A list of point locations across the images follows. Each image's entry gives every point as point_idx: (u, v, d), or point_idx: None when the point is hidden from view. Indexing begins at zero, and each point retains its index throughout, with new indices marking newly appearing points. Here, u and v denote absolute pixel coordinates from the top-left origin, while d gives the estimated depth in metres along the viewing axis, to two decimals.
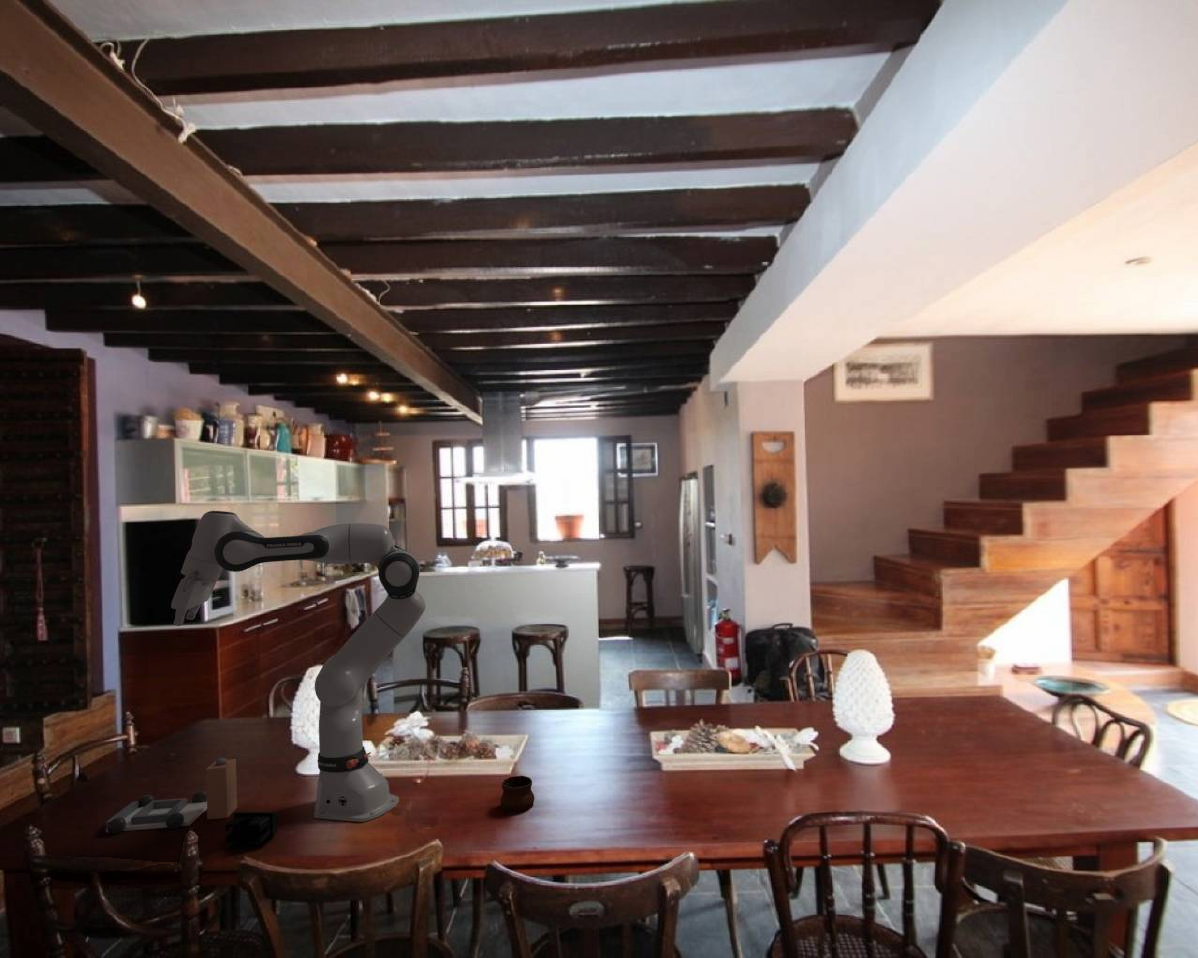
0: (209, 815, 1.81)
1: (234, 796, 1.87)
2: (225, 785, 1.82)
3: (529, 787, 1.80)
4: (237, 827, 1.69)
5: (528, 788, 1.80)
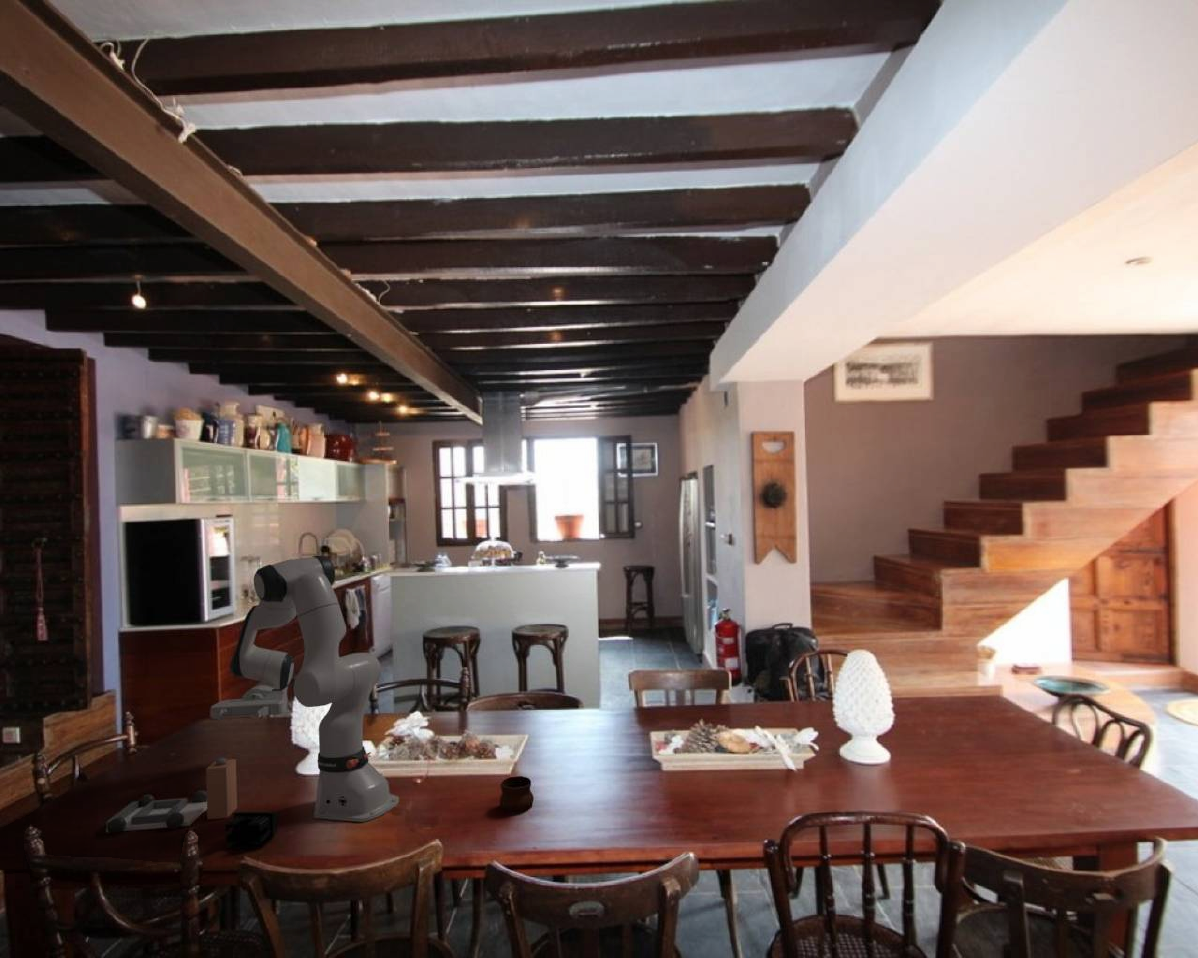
0: (209, 815, 1.81)
1: (234, 796, 1.87)
2: (225, 785, 1.82)
3: (528, 787, 1.80)
4: (237, 827, 1.69)
5: (527, 788, 1.80)
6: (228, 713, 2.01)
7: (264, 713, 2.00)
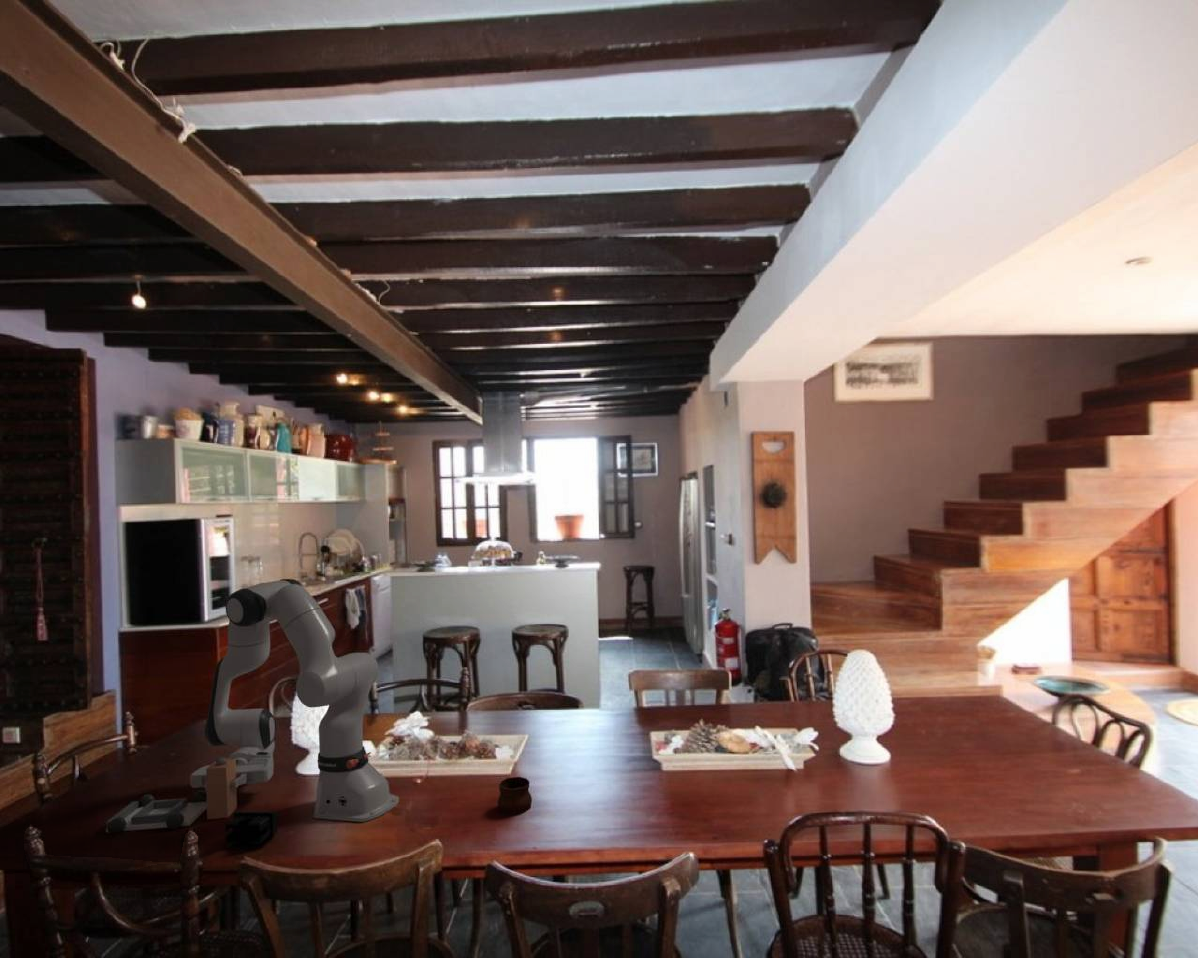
0: (209, 815, 1.81)
1: (234, 796, 1.87)
2: (225, 785, 1.82)
3: (526, 788, 1.80)
4: (237, 827, 1.69)
5: (525, 789, 1.79)
6: None
7: (242, 782, 1.87)
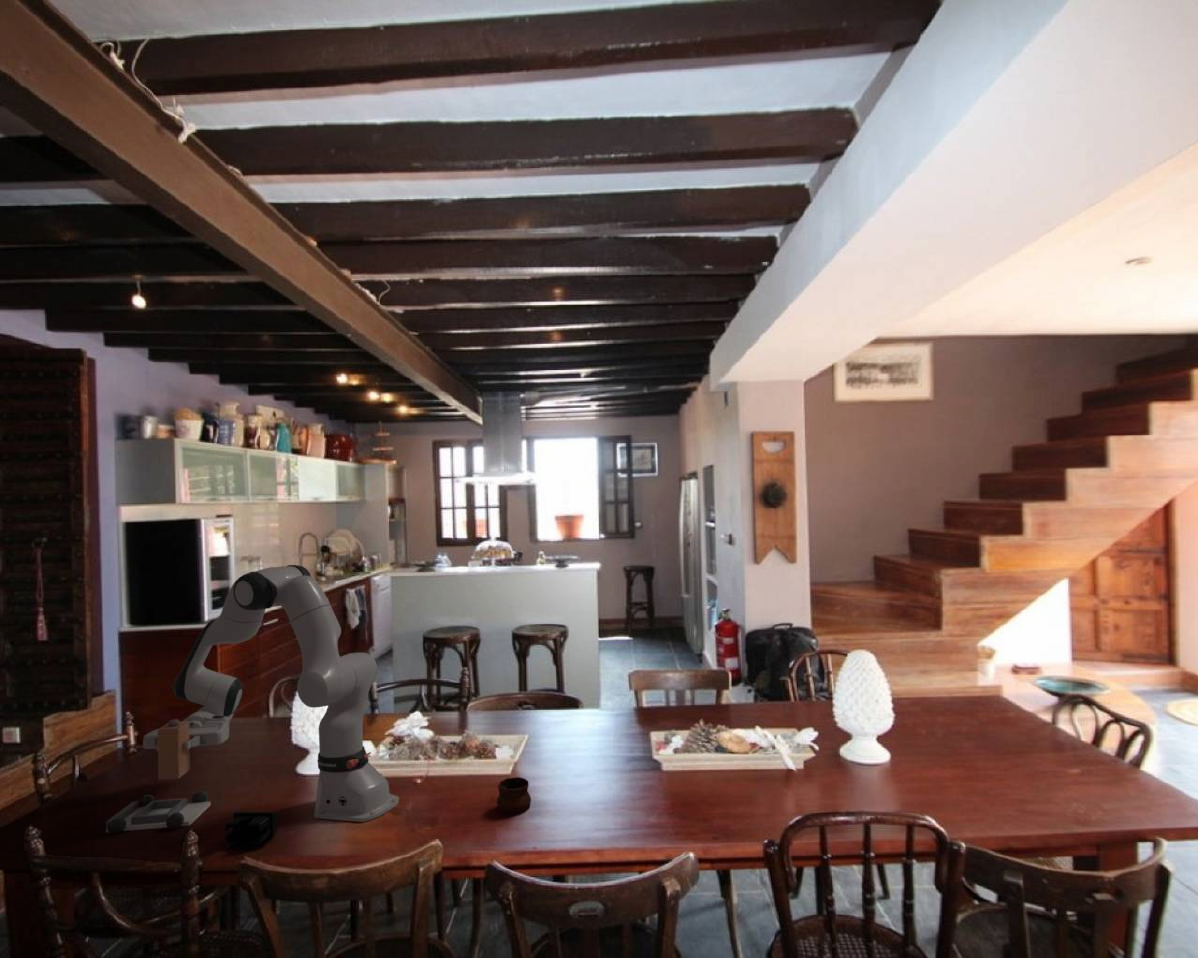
0: (160, 776, 1.81)
1: (187, 757, 1.86)
2: (176, 746, 1.81)
3: (526, 789, 1.79)
4: (237, 827, 1.69)
5: (525, 790, 1.79)
6: None
7: (194, 744, 1.86)
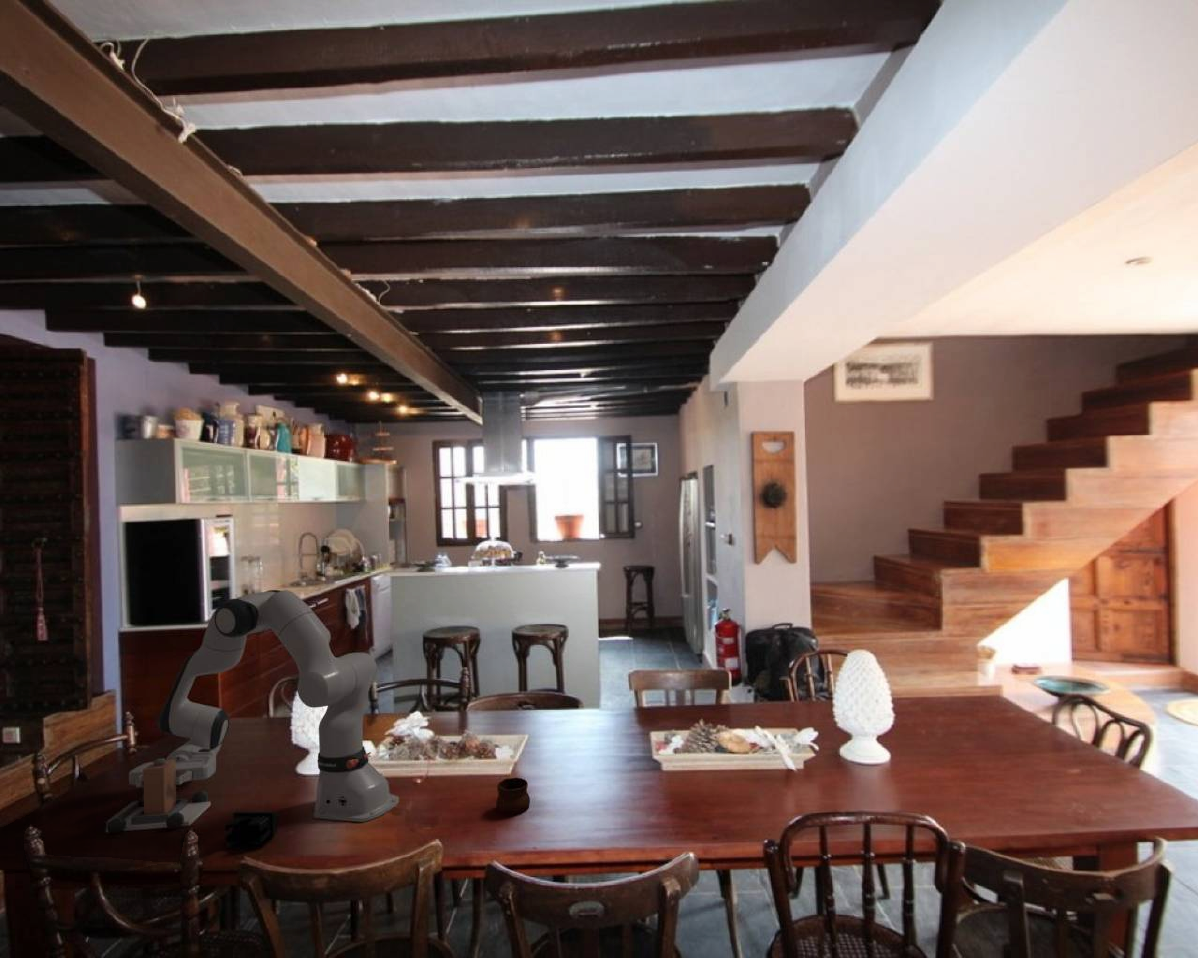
0: None
1: (173, 797, 1.85)
2: (162, 785, 1.81)
3: (525, 789, 1.79)
4: (237, 827, 1.69)
5: (524, 790, 1.79)
6: None
7: (186, 779, 1.86)
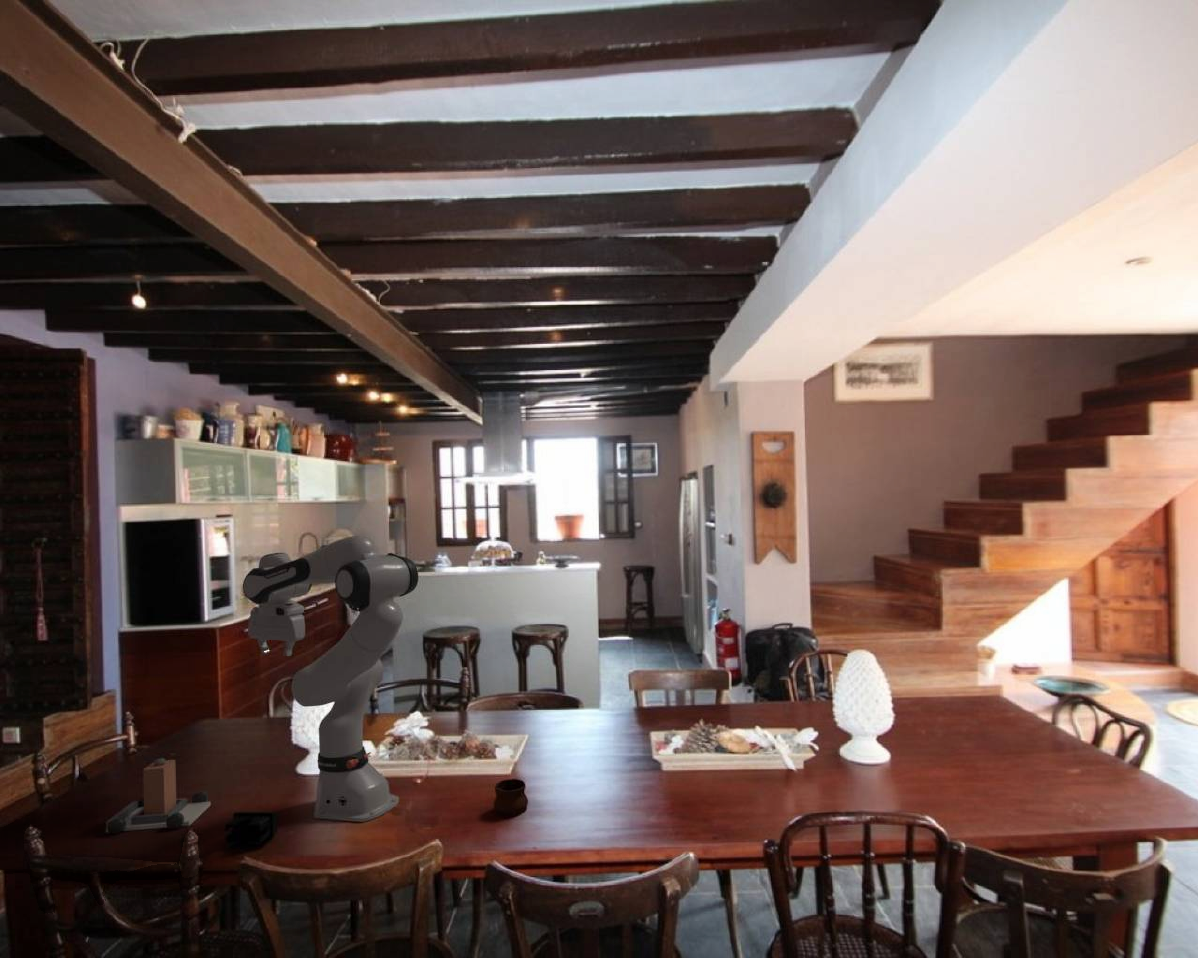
0: None
1: (173, 797, 1.85)
2: (162, 785, 1.81)
3: (523, 790, 1.79)
4: (237, 827, 1.69)
5: (522, 791, 1.79)
6: None
7: (292, 646, 2.04)
